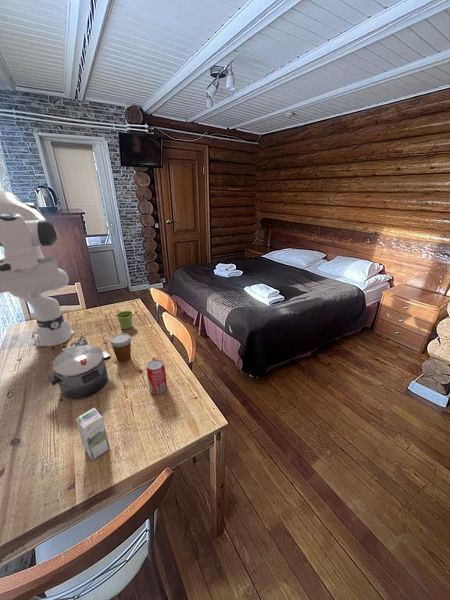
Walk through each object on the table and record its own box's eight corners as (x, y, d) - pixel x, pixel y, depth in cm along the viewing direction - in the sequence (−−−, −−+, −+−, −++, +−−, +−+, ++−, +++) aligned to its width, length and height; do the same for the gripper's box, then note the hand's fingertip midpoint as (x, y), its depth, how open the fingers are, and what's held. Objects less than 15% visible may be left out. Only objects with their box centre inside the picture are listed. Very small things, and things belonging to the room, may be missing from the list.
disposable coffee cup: (125, 366, 121) (121, 345, 116) (109, 362, 124) (104, 341, 119) (138, 355, 129) (135, 334, 124) (122, 351, 132) (118, 331, 127)
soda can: (170, 387, 109) (168, 362, 103) (158, 398, 103) (155, 372, 98) (158, 381, 112) (155, 356, 107) (145, 391, 106) (142, 366, 101)
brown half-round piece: (79, 369, 119) (74, 351, 115) (67, 367, 120) (62, 349, 116) (96, 353, 130) (92, 336, 126) (85, 352, 131) (81, 335, 127)
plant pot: (114, 329, 152) (112, 316, 148) (124, 322, 160) (122, 309, 157) (128, 332, 150) (126, 318, 146) (137, 324, 158) (136, 311, 154)
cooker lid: (45, 360, 106) (43, 353, 104) (90, 342, 118) (88, 335, 116) (64, 384, 94) (61, 376, 92) (111, 361, 106) (110, 354, 105)
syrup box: (102, 438, 86) (93, 406, 81) (110, 449, 83) (102, 416, 77) (84, 450, 83) (74, 417, 77) (92, 462, 79) (82, 428, 73)
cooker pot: (48, 387, 108) (41, 366, 103) (102, 362, 123) (97, 343, 119) (65, 412, 96) (58, 390, 92) (122, 381, 112) (118, 360, 107)
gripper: (52, 254, 101) (61, 287, 106) (-16, 265, 87) (-2, 302, 92) (58, 257, 97) (67, 291, 103) (-12, 269, 83) (2, 307, 89)
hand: (34, 296), depth 97 cm, fingers closed
